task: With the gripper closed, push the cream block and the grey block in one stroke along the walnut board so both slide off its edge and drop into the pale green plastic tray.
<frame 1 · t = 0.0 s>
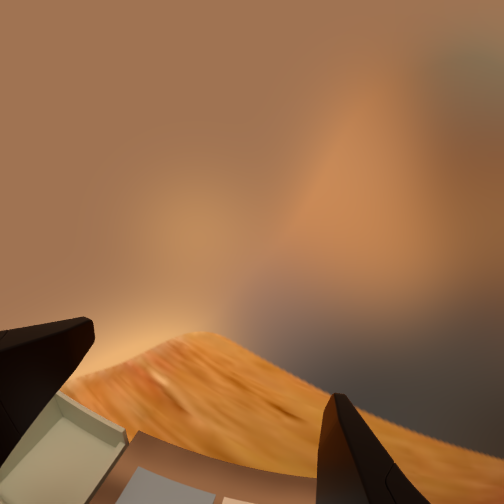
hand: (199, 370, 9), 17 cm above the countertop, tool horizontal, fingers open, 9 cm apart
tray: (58, 477, 12), on the countertop
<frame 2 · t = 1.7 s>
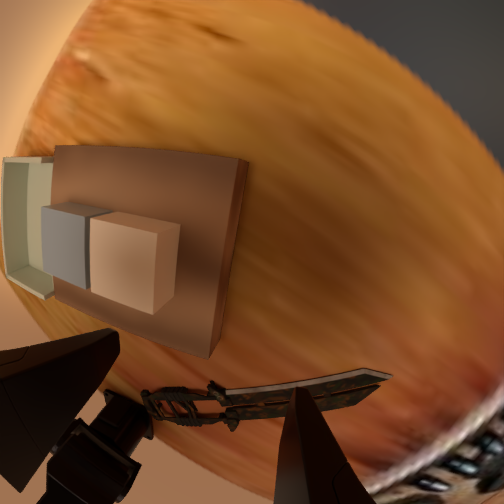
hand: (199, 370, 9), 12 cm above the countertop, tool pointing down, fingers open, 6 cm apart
tray: (45, 218, 23), on the countertop
knife: (254, 395, 24), on the countertop
cream block: (144, 253, 18), point 3 cm above the countertop, touching board
grey block: (87, 237, 19), point 3 cm above the countertop, touching board
board: (137, 237, 21), on the countertop
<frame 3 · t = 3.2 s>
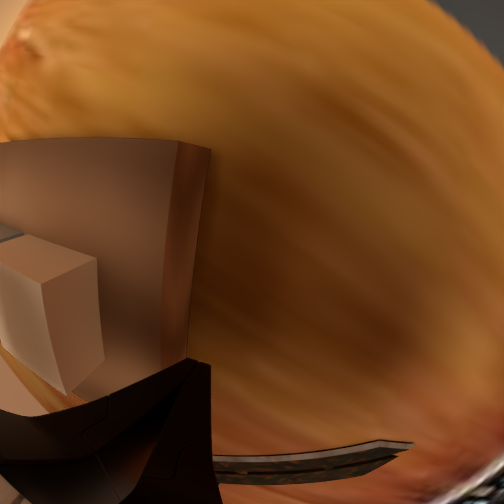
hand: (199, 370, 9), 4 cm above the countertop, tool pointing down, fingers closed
knife: (236, 460, 17), on the countertop
cream block: (61, 296, 11), point 3 cm above the countertop, touching board
grey block: (6, 266, 11), point 3 cm above the countertop, touching board
board: (69, 264, 14), on the countertop
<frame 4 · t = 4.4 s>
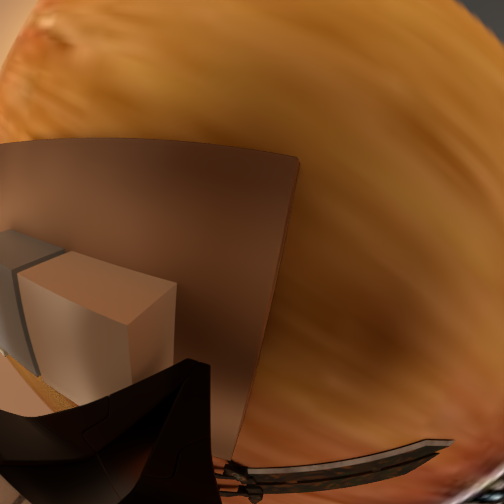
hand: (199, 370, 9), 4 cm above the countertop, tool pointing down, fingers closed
knife: (284, 470, 16), on the countertop
cream block: (118, 323, 10), point 3 cm above the countertop, touching gripper
grey block: (38, 286, 11), point 3 cm above the countertop, touching board
board: (113, 282, 13), on the countertop
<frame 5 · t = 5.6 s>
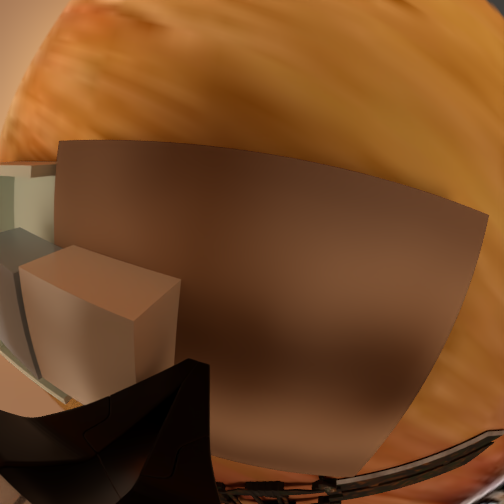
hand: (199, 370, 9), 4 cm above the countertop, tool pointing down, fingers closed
tray: (47, 266, 14), on the countertop
knife: (365, 476, 15), on the countertop
cream block: (119, 319, 10), point 3 cm above the countertop, touching board, gripper, grey block
grey block: (45, 287, 11), point 3 cm above the countertop, tilted 5°, touching cream block
board: (237, 319, 12), on the countertop
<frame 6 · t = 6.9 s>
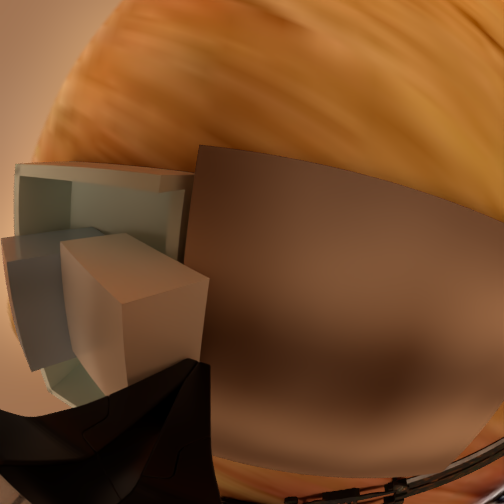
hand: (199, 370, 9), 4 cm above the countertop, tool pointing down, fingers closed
tray: (122, 294, 13), on the countertop
knife: (427, 473, 14), on the countertop
cream block: (156, 312, 10), point 2 cm above the countertop, tilted 25°, touching gripper, grey block
grey block: (69, 310, 10), point 4 cm above the countertop, tilted 115°, touching cream block
board: (372, 347, 12), on the countertop
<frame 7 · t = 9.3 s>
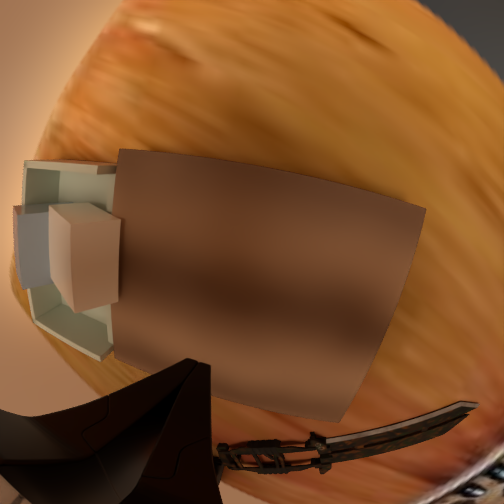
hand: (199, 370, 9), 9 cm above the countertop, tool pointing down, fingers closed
tray: (88, 247, 19), on the countertop
knife: (352, 438, 20), on the countertop
cream block: (100, 249, 16), point 2 cm above the countertop, tilted 25°, touching board, grey block
grey block: (51, 249, 15), point 4 cm above the countertop, tilted 115°, touching cream block, tray
board: (248, 285, 17), on the countertop
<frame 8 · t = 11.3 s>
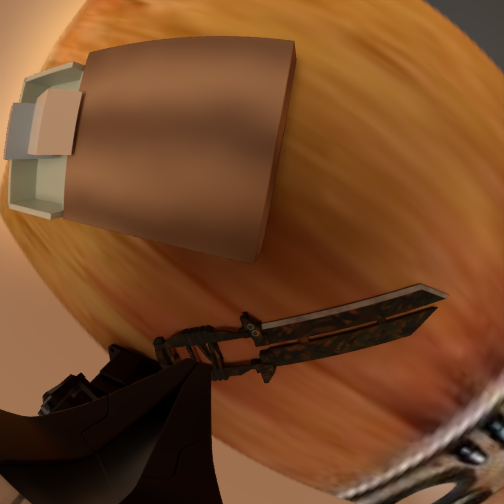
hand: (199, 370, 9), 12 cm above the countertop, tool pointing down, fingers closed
tray: (61, 141, 21), on the countertop
knife: (295, 331, 22), on the countertop
cream block: (67, 124, 18), point 2 cm above the countertop, tilted 25°, touching board, grey block
grey block: (32, 130, 17), point 4 cm above the countertop, tilted 115°, touching cream block, tray
board: (171, 137, 19), on the countertop
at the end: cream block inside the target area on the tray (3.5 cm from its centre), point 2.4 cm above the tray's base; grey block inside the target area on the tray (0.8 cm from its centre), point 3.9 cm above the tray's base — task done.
